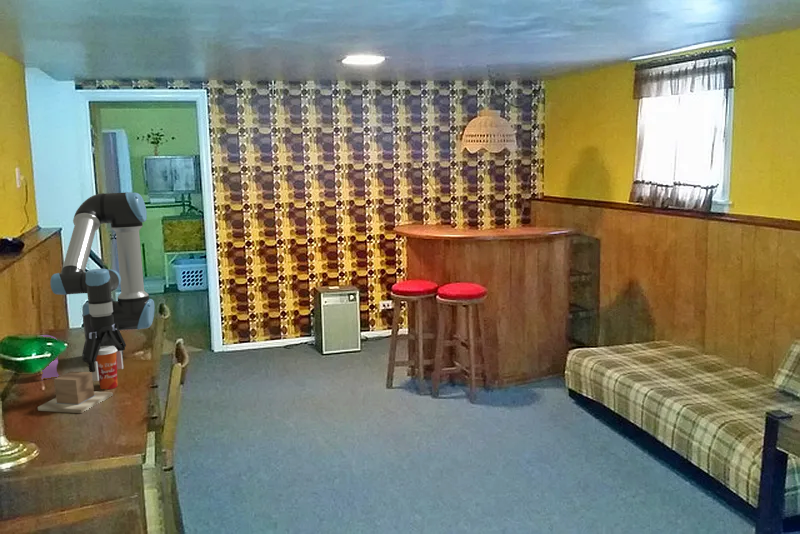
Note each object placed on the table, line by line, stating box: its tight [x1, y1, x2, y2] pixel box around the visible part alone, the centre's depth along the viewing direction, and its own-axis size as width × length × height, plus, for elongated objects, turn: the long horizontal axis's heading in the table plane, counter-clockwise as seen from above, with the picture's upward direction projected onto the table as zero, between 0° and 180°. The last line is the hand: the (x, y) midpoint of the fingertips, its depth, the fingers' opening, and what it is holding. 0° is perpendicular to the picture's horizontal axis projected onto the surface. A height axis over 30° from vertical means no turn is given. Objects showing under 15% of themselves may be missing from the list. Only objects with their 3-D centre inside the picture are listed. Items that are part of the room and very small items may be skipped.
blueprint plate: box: [37, 391, 114, 414], centre depth 237 cm, size 16×16×1 cm
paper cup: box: [96, 346, 119, 391], centre depth 251 cm, size 8×8×14 cm
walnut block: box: [53, 370, 95, 404], centre depth 237 cm, size 8×8×8 cm
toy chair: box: [40, 334, 60, 380], centre depth 266 cm, size 8×9×15 cm
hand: (107, 374), depth 251 cm, fingers open, 13 cm apart
